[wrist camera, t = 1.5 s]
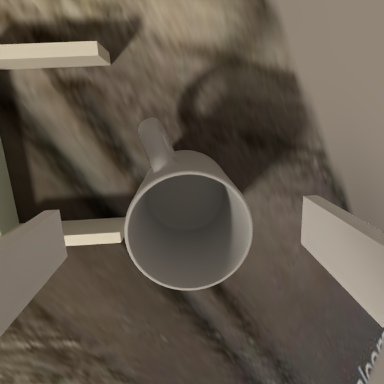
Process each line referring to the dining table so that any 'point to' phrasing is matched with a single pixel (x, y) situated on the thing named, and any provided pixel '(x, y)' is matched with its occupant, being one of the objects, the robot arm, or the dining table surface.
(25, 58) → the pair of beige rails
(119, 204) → the dining table surface
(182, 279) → the mug
